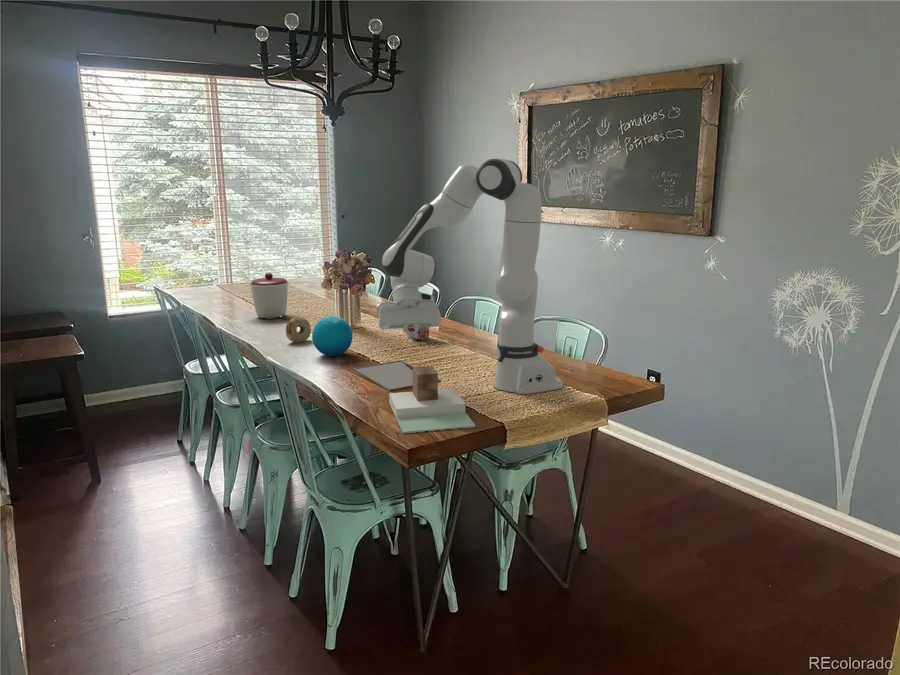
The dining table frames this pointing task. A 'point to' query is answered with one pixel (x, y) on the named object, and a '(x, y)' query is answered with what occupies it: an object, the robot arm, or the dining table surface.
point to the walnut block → (425, 383)
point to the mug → (421, 333)
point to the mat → (435, 423)
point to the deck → (426, 404)
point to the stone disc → (292, 329)
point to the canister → (270, 296)
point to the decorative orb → (332, 336)
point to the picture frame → (389, 374)
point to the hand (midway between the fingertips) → (412, 337)
